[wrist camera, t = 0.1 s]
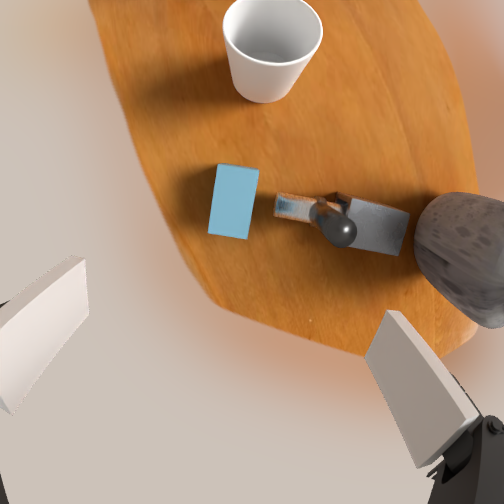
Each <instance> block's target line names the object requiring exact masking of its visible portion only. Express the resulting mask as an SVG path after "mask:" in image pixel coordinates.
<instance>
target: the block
mask: <svg viewBox="0 0 504 504" xmlns="http://www.w3.org/2000/svg"><path fill="white" fill-rule="evenodd" d="M335 203H336V204H341V205H345V206H348V208H347V212H346V217H348V218H350V219H351V220H352V221H353V222H354V223H355V224H356V227H357V236H356V239H355V240H354V242H353V243H352V244H351V245H349V246H348V247H353V248H359V249H364V250H369V251H374V252H379V253H385V254H390V255H395V256H398V255H399V252H400V249H401V246H402V242H403V239H404V236H405V232H406V228H407V225H408V221H409V217H410V213H407V212H405V211H402V210H400V209H398V208H395V207H393V206H390V205H387V204H383V203H379V202H376V201H372V200H368V199H364V198H361V197H357V196H353V195H349V194H345V193H341V192H337V194H336V199H335Z"/></svg>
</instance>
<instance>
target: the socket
mask: <svg viewBox="0 0 504 504" xmlns="http://www.w3.org/2000/svg"><path fill="white" fill-rule="evenodd" d="M258 176H259V170H258V169H257V168H251V167H245V166H239V165H233V164H226V163H222V164H218V167H217V173H216V180H215V186H214V193H213V199H212V206H211V213H210V220H209V227H208V233H211V234H217V235H223V236H229V237H236V238H242V239H247V237H248V232H249V226H250V220H251V215H252V209H253V204H254V198H255V193H256V187H257V181H258Z"/></svg>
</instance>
